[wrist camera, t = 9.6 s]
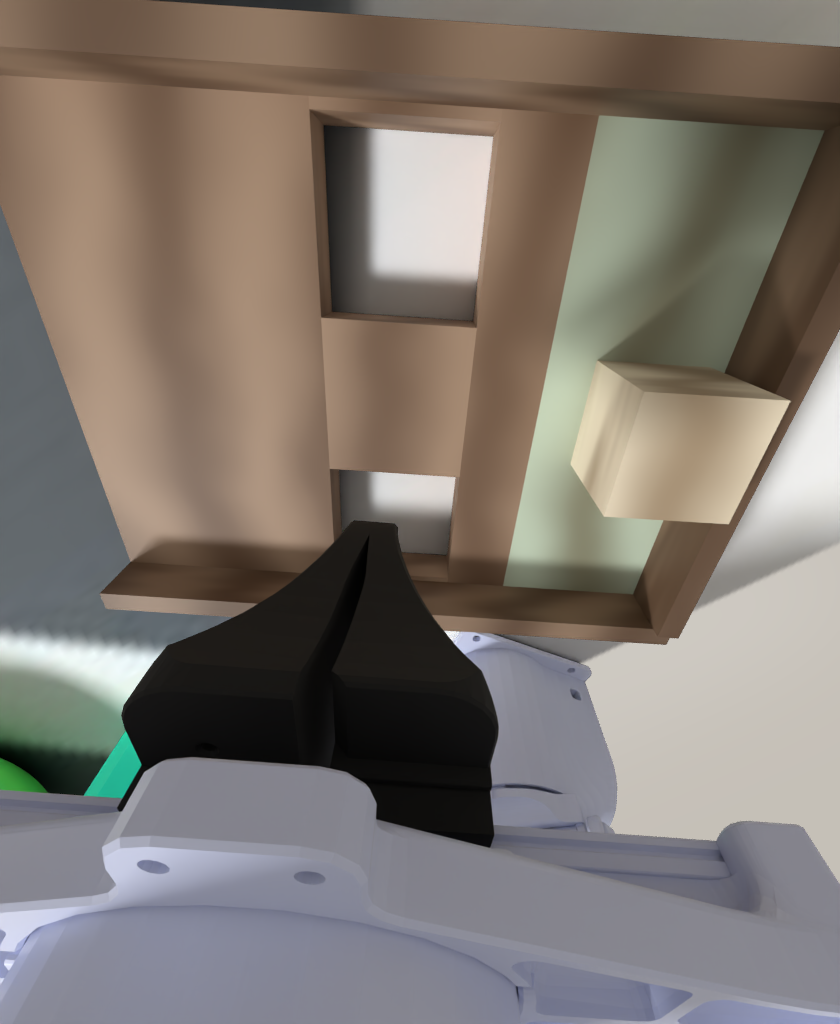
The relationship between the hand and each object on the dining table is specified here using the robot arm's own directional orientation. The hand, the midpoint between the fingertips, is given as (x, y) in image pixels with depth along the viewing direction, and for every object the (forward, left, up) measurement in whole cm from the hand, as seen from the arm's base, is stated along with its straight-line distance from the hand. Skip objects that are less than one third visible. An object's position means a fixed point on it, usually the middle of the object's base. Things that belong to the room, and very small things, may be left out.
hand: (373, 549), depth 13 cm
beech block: (-9, -6, -7) cm, 13 cm away
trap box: (+1, -2, -9) cm, 10 cm away
